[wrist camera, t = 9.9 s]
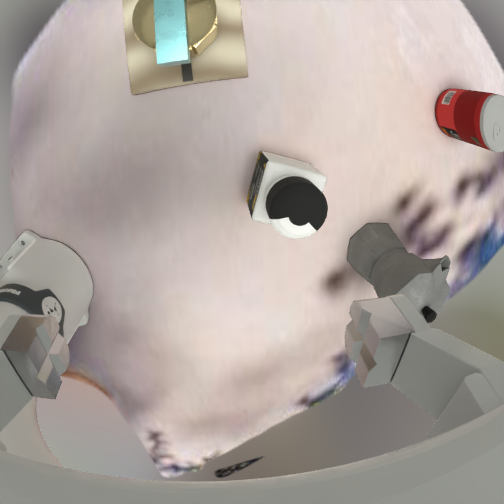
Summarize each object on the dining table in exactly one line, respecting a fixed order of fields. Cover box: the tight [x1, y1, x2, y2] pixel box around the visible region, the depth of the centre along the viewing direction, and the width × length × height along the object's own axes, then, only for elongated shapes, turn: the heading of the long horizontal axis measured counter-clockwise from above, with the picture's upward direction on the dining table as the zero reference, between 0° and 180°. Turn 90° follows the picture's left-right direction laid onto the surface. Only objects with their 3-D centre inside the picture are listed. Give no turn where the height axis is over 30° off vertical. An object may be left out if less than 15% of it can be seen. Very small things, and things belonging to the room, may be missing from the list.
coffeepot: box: [347, 223, 450, 323], centre depth 40 cm, size 15×9×18 cm, turn 156°
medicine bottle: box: [247, 151, 328, 239], centre depth 36 cm, size 7×7×12 cm
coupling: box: [132, 0, 217, 67], centre depth 24 cm, size 8×11×10 cm
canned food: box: [435, 89, 504, 152], centre depth 33 cm, size 8×8×11 cm
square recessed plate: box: [123, 0, 248, 95], centre depth 28 cm, size 14×14×6 cm
